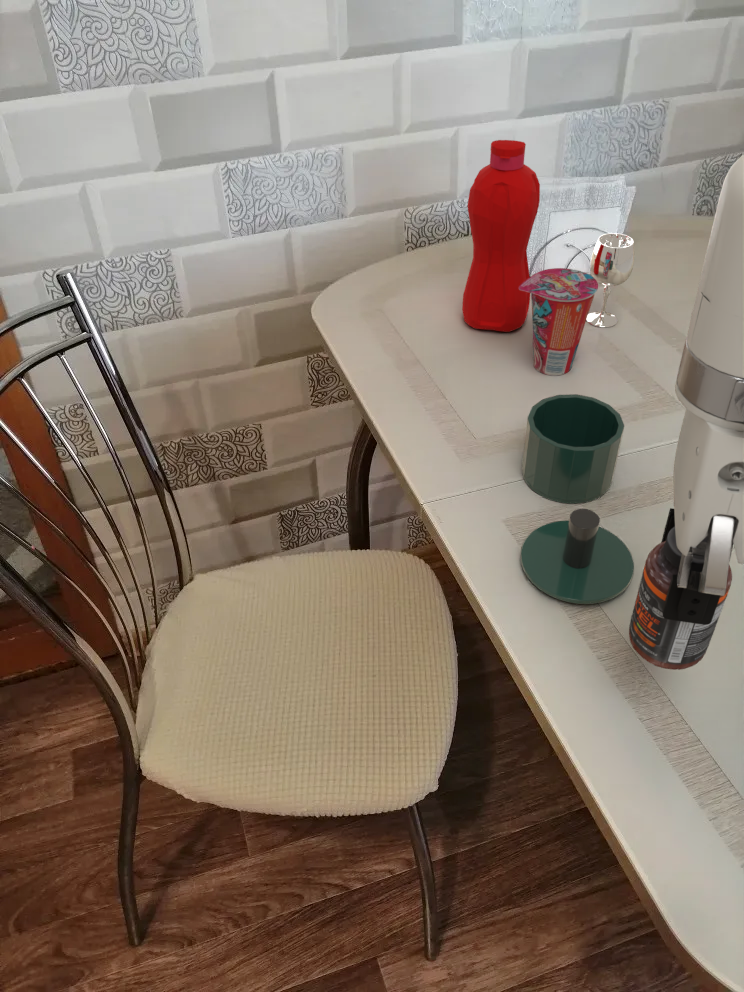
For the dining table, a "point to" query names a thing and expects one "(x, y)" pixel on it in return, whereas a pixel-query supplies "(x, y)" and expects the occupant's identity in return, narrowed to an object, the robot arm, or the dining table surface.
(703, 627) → the supplement bottle
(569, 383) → the dining table surface
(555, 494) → the pot
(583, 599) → the lid
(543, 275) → the cup
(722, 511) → the robot arm
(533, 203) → the water bottle
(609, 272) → the wineglass
